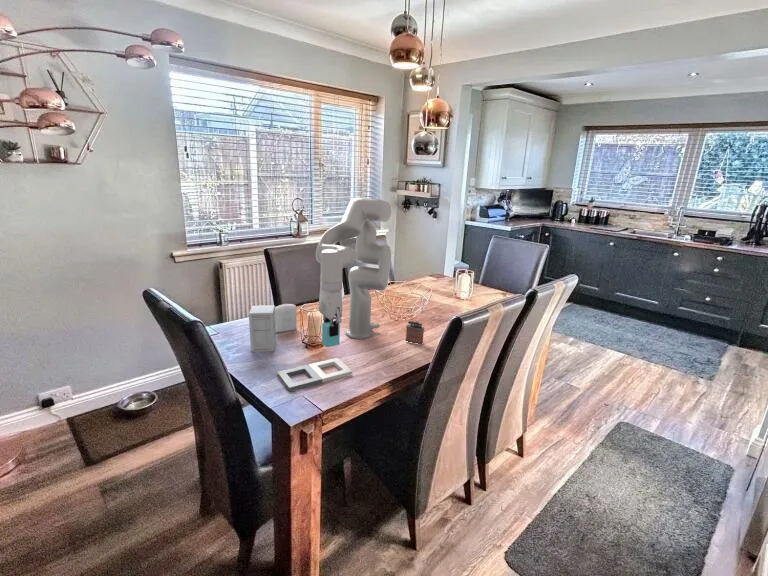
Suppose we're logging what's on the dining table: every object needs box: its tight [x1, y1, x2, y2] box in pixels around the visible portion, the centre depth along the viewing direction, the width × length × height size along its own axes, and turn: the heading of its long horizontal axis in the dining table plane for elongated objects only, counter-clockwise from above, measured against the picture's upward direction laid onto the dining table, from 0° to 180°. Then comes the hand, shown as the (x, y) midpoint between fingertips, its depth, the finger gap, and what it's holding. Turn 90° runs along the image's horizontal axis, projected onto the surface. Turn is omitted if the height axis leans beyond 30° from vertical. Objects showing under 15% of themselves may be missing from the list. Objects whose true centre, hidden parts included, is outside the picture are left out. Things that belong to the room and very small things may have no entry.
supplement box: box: [248, 304, 277, 353], centre depth 161 cm, size 10×9×17 cm
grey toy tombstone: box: [275, 303, 298, 333], centre depth 180 cm, size 10×4×12 cm, turn 123°
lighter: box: [404, 319, 425, 344], centre depth 174 cm, size 8×3×10 cm, turn 71°
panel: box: [276, 357, 353, 392], centre depth 144 cm, size 24×12×2 cm, turn 123°
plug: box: [321, 320, 341, 348], centre depth 143 cm, size 5×4×8 cm
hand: (330, 332), depth 143 cm, fingers closed on plug, 3 cm apart
